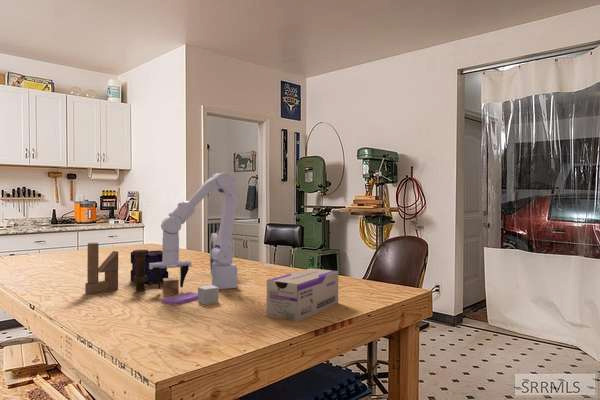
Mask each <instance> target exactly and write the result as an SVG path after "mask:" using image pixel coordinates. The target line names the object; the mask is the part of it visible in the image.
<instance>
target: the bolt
mask: <svg viewBox="0 0 600 400" xmlns="http://www.w3.org/2000/svg"><path fill="white" fill-rule="evenodd" d="M149 251H150V250H148V249H133V250H132V251H131V252H132V255H136V276H134V277H133V281H134V282H136V284H135V292H144V291H145V290H146V285H145V282H146V281H147V280H148V277H147V276H146V275H145V255H147V254H149Z"/></svg>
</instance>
